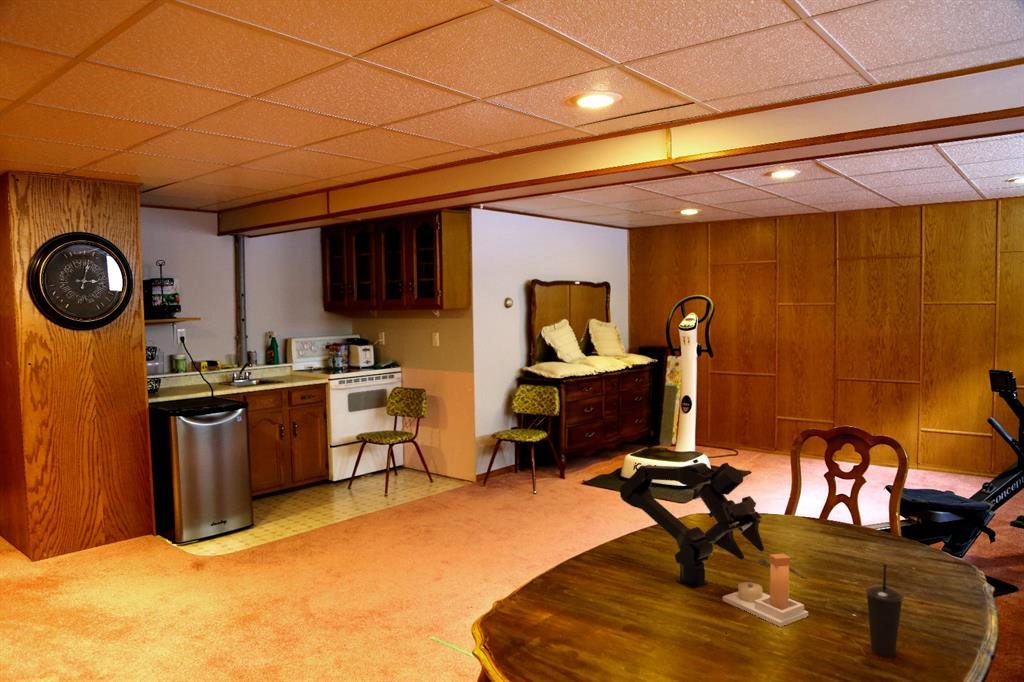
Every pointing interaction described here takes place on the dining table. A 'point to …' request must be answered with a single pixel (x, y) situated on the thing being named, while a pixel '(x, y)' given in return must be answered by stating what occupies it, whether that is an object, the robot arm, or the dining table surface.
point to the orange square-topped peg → (779, 580)
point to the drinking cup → (884, 616)
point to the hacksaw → (789, 568)
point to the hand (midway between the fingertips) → (753, 554)
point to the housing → (764, 605)
